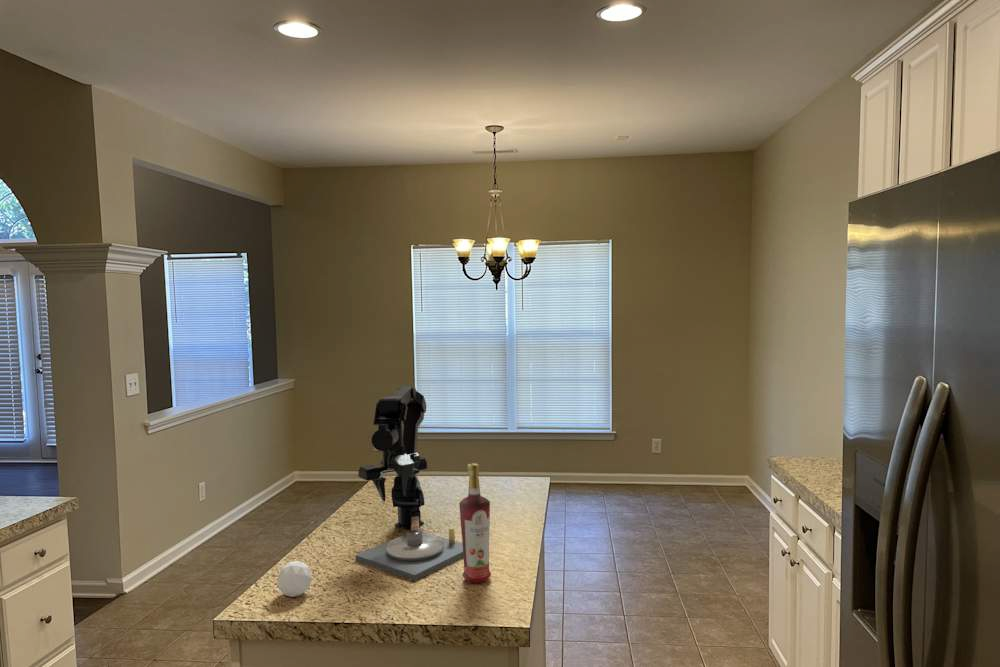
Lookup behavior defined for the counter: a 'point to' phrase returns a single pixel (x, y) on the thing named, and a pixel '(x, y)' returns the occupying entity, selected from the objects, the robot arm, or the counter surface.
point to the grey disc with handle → (415, 545)
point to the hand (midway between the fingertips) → (394, 498)
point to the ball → (294, 578)
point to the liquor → (475, 530)
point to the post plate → (413, 568)
